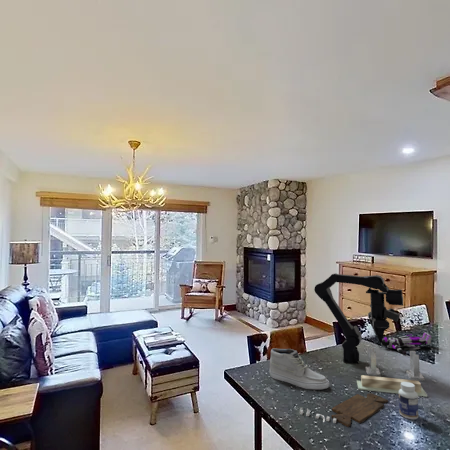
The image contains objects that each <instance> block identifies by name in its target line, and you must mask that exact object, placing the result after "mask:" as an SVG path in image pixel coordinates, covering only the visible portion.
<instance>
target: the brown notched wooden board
mask: <svg viewBox="0 0 450 450" xmlns="http://www.w3.org/2000/svg"><path fill="white" fill-rule="evenodd" d="M388 402H389V400H388V399H387V398H384V397H381V396H380V395H377V394H375V393H372V392H369V393H366V397H364V396H363V395H361V394H359V393H357V394H355V395H353V396H351V397H350V398H348V399H346V400H344V401H342V402H341V403H338V404H337V405H334V406H333V407H332V408H331V411H332V412H333V413H334V414H331V416H330V419H332V420H333V419H334V418H336V419H337V422H338V423H339V424H340V425H343V426H345V427H347V428H350V426H351V422H352V420H353V421H354V422H356V423H358V424H361V423H363V422H365V421H366V420H368V419H369V418H371V417H372V416H373V415H374V414H376V413H377V412H380V410H382V409H384V407H385V404H386V403H388Z"/></svg>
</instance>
